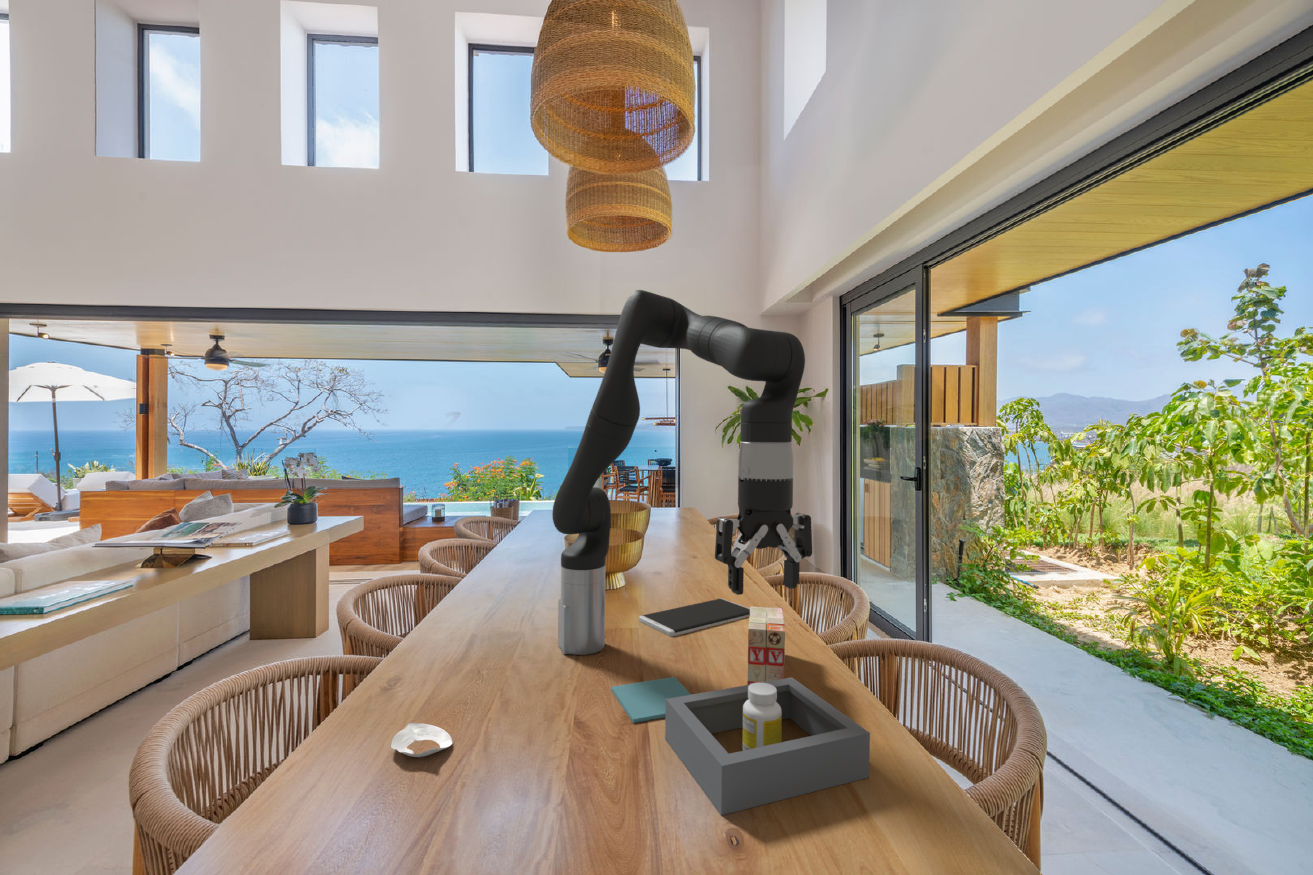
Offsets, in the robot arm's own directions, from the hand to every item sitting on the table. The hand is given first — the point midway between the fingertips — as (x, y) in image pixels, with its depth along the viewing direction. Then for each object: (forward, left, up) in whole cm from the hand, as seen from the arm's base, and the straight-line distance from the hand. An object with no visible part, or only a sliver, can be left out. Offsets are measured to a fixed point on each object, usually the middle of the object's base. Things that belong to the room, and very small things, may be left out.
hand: (763, 590), depth 81 cm
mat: (-8, +21, -24) cm, 33 cm away
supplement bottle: (0, 0, -24) cm, 24 cm away
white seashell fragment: (-45, +19, -24) cm, 54 cm away
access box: (0, 0, -24) cm, 24 cm away
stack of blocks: (+15, +24, -24) cm, 37 cm away
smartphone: (+17, +57, -24) cm, 64 cm away
